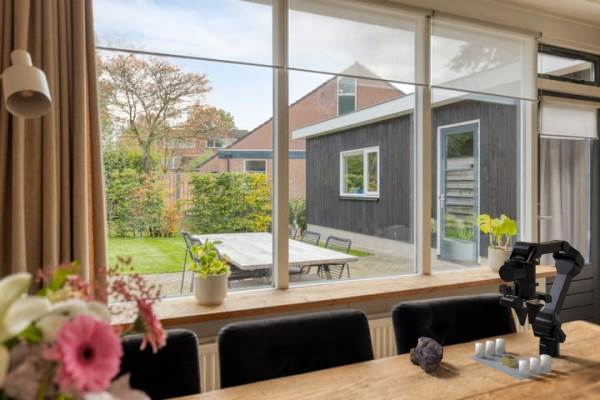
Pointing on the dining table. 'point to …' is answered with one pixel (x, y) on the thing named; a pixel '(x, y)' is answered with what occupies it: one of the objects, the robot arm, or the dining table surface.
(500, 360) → the board
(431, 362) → the rock
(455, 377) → the dining table surface
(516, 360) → the nut
